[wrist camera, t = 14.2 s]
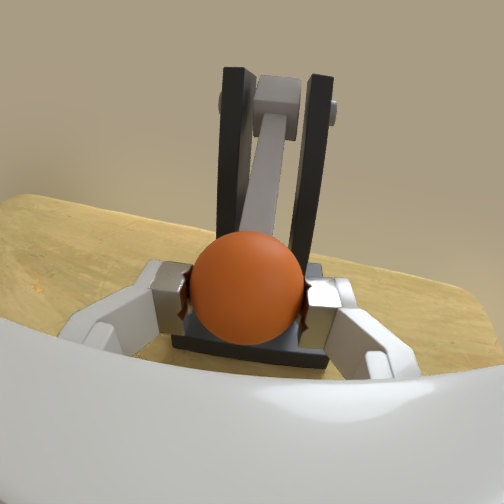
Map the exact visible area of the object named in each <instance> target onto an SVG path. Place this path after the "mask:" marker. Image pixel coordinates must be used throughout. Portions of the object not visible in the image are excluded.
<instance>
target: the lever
mask: <svg viewBox="0 0 504 504" xmlns="http://www.w3.org/2000/svg"><path fill="white" fill-rule="evenodd" d="M300 93H301V79H300V78H291V77H281V76H270V75H261V76H260V78H259V81H258V85H257V88H256V91H255V94H254V98H253V136H254V137H259V138H258V143H257V147H256V152H255V156H254V162H253V165H252V170H251V175H250V179H249V184H248V189H247V193H246V198H245V203H244V207H243V212H242V217H241V222H240V226H239V231H238V232H233V233H229V234H227V235H224V236H222V237H220V238H218V239H216V240H215V241H213V242H212V243H211V244H210V245H209V246H207V247H206V248H205V250H204V251H203V252H202V253H201V254H200V256H199V257H198V259H197V260H196V263H195V265H194V267H193V270H192V273H191V277H190V288H189V289H190V299H191V303H192V306H193V309H194V311H195V314H196V315H197V317H198V319H199V320H200V322H201V323H202V324H203V325H204V327H205V328H207V329H208V330H209V331H210V332H211V333H212V334H214V335H215V336H216V337H218V338H220V339H222V340H224V341H227V342H229V343H233V344H238V345H256V344H261V343H264V342H267V341H270V340H272V339H274V338H276V337H277V336H279V335H281V334H282V333H283V332H284V331H285V330H287V329H288V327H289V326H290V325H291V324H292V323H293V321H294V320H295V318H296V317H297V315H298V313H299V311H300V309H301V306H302V302H303V297H304V279H303V274H302V270H301V268H300V265H299V263H298V261H297V259H296V258H295V256H294V255H293V253H292V252H291V251H290V250H289V249H288V248H287V247H286V246H285V245H284V244H283V243H281V242H280V241H279V240H277V239H275V238H274V237H272V235H273V226H274V220H275V212H276V204H277V197H278V189H279V182H280V174H281V166H282V158H283V150H284V142H285V140H289V141H295V140H296V135H297V126H298V117H299V108H300Z"/></svg>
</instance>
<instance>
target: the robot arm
mask: <svg viewBox="0 0 504 504" xmlns="http://www.w3.org/2000/svg"><path fill="white" fill-rule="evenodd" d="M193 267H194V266H193V265H192V264H185V263H177V262H169V261H162V260H149V261H148V262H147V264H146V265H145V267H144V269H143V270H142V272H141V273H140V275H139V276H138V278H137V279H136V281H135V283H134V284H133V286H127V287H125V288H123V289H121V290H119V291H117V292H115V293H113V294H111V295H109V296H107V297H105V298H103V299H101V300H99V301H97V302H95V303H93V304H91V305H89V306H87V307H85V308H83V309H81V310H79V311H78V312H76V313H74V314H72V315H71V317H70V318H69V320H68V321H67V323H66V324H65V325H64V327H63V328H62V330H61V331H60V333H59V334H58V336H57V337H55V336H52V335H48V334H45V333H42V332H39V331H37V330H34V329H31V328H28V327H25V326H23V325H20V324H17V323H15V322H12V321H9V320H7V319H4V318H2V317H0V504H504V364H502V365H497V366H491V367H486V368H480V369H474V370H468V371H461V372H454V373H446V374H438V375H428V376H422V374H421V371H420V369H419V366H418V363H417V361H416V358H415V355H414V353H413V350H412V349H411V348H410V347H409V346H407V345H406V344H405V343H404V342H402V341H401V340H400V339H399V338H398V337H396V336H395V335H394V334H393V333H392V332H390V331H389V330H388V329H387V328H385V327H384V326H383V325H382V324H381V323H379V322H378V321H377V320H376V319H374V318H373V317H372V316H371V315H369V314H368V313H367V312H366V311H365V310H363V309H359V308H358V305H357V302H356V299H355V296H354V293H353V290H352V287H351V284H350V281H349V279H348V278H336V277H333V278H332V277H316V276H303V279H304V297H303V302H302V306H301V309H300V311H299V313H298V315H297V317H296V321H297V324H298V325H299V328H298V332H297V337H298V348H307V349H320V350H323V351H324V352H325V354H326V355H327V356H328V357H329V359H330V360H331V361H332V363H333V364H334V365H335V366H336V368H337V369H338V370H339V372H340V373H341V374H342V375H343V377H344V378H345V379H346V380H317V379H292V378H276V377H262V376H251V375H241V374H231V373H223V372H215V371H207V370H200V369H193V368H187V367H181V366H175V365H169V364H163V363H158V362H153V361H148V360H143V359H138V358H134V357H132V356H133V355H135V354H136V353H137V352H138V351H140V350H141V349H142V348H143V347H145V346H146V345H147V344H148V343H149V342H151V341H152V340H153V339H154V338H156V337H157V336H158V335H159V334H160V333H165V334H172V335H180V336H184V335H185V332H186V329H187V326H188V323H189V317H188V315H190V314H191V313H192V311H193V306H192V303H191V299H190V289H189V288H190V277H191V273H192V270H193Z"/></svg>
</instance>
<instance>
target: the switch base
mask: <svg viewBox="0 0 504 504" xmlns="http://www.w3.org/2000/svg"><path fill="white" fill-rule="evenodd" d="M333 81H334V77H332V76H327V75H320V74H312V75H311V77H310V79H309V80H308V82H307V93H306V103H305V114H304V124H303V133H302V143H301V151H300V160H299V169H298V178H297V185H296V193H295V202H294V209H293V217H292V224H291V231H290V238H289V245H288V249H289V250H290V251H291V252H292V253H293V255H294V256H295V258H296V259H297V261H298V263H299V265H300V268H301V270H302V274H303V276H316V277H323V274H322V266H321V264H317V263H309V262H308V259H309V254H310V248H311V243H312V237H313V231H314V226H315V220H316V213H317V207H318V201H319V194H320V187H321V181H322V174H323V167H324V159H325V153H326V152H325V151H326V144H327V136H328V129H329V126H334V124H335V120H336V113H337V103H336V102H335V101H332V91H333ZM255 90H256V76H255V75H254V74H252V73H251V72H250V71H248V70H247V69H245V68H244V67H224V68H223V82H222V92H221V93H220V96H219V104H218V106H219V113H220V115H221V116H220V134H219V135H220V136H219V156H218V184H217V221H216V226H217V227H216V239H218V238H220V237H222V236H224V235H227V234H229V233H233V232H238V231H239V226H240V222H241V217H242V212H243V207H244V203H245V198H246V193H247V189H248V184H249V172H250V158H251V157H250V156H251V144H252V130H253V98H254V94H255ZM188 317H189V323H188V326H187V329H186V332H185V335H184V336H180V335H172V334H171V339H172V345H173V347H176V348H181V349H186V350H191V351H196V352H201V353H206V354H212V355H217V356H223V357H229V358H235V359H242V360H249V361H255V362H263V363H270V364H279V365H287V366H297V367H307V368H318V369H326V367H327V365H328V362H329V360H330V359H329V357H328V356H327V355H326V354H325V352H324V351H323V350H320V349H307V348H298V337H297V332H298V328H299V325H298V324H297V321H296V318H295V320H294V321H293V323H292V324H291V325H290V326H289V327H288V329H287V330H285V331H284V332H283V333H282V334H281V335H279V336H277V337H276V338H274V339H272V340H270V341H267V342H264V343H261V344H256V345H238V344H233V343H229V342H227V341H224V340H222V339H220V338H218V337H216V336H215V335H214V334H212V333H211V332H210V331H209V330H208V329H207V328H205V327H204V325H203V324H202V323H201V322H200V320H199V319H198V317H197V315H196V314H195V311H194V309H193V311H192V313H191V314H190V315H188Z"/></svg>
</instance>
